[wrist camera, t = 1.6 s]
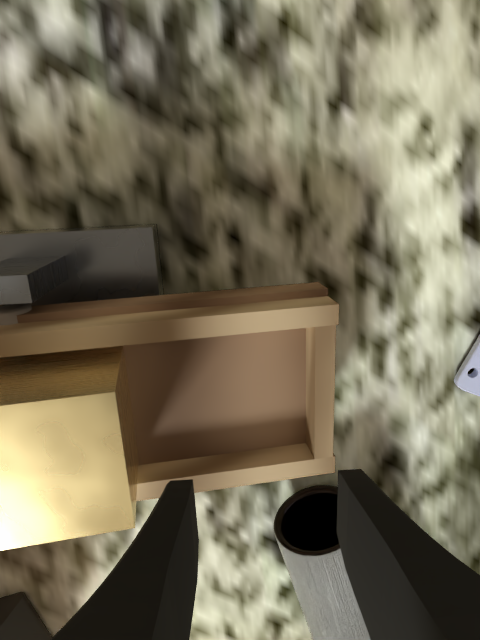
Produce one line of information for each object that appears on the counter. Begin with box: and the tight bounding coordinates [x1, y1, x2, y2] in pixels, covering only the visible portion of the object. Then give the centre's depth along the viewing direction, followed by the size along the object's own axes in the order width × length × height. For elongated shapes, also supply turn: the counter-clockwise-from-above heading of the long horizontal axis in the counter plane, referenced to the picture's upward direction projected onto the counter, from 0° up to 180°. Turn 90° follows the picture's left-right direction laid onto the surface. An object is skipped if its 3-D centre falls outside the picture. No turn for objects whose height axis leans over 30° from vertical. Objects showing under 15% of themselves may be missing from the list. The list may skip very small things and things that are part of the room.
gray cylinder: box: [274, 485, 371, 640], centre depth 24 cm, size 4×4×10 cm
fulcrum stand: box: [0, 224, 164, 307], centre depth 19 cm, size 10×13×5 cm
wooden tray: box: [0, 282, 339, 501], centre depth 17 cm, size 24×8×2 cm, turn 92°
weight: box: [0, 346, 138, 551], centre depth 15 cm, size 5×5×4 cm
